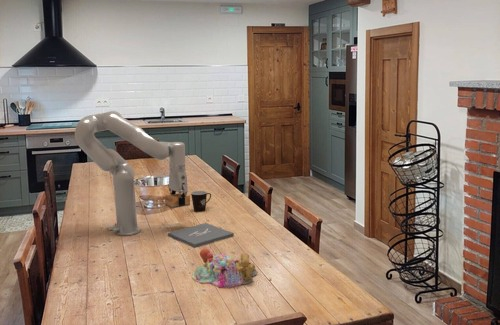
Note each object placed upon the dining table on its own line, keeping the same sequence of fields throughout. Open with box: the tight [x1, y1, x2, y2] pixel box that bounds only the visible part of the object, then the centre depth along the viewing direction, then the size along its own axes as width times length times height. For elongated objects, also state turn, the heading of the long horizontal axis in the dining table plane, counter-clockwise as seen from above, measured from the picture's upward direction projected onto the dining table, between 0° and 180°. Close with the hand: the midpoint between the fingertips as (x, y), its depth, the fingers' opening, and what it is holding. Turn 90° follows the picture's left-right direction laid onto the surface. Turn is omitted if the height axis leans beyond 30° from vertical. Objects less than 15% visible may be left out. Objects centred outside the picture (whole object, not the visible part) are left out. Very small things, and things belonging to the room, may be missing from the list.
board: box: [167, 222, 235, 248], centre depth 246 cm, size 22×22×2 cm
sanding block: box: [164, 192, 191, 209], centre depth 257 cm, size 10×6×5 cm, turn 127°
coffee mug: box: [190, 190, 212, 213], centre depth 288 cm, size 12×9×10 cm
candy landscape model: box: [191, 248, 258, 288], centre depth 200 cm, size 25×24×9 cm
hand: (177, 203), depth 257 cm, fingers closed on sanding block, 6 cm apart
